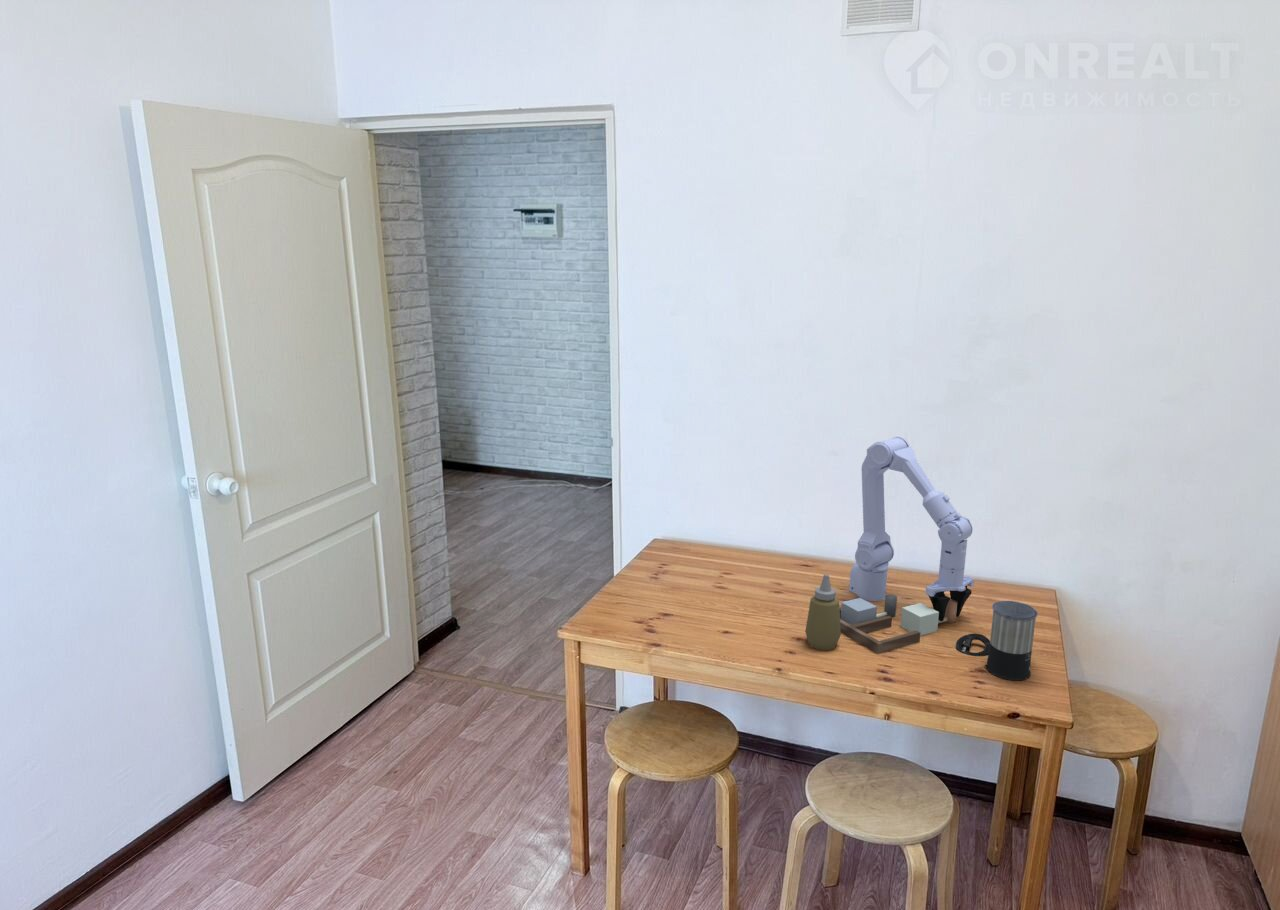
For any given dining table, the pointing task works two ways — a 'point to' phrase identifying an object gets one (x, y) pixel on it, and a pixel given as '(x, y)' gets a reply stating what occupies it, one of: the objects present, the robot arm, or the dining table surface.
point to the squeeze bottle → (823, 617)
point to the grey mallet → (866, 610)
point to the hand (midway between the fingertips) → (947, 617)
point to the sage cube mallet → (926, 617)
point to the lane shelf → (861, 629)
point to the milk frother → (1006, 640)
